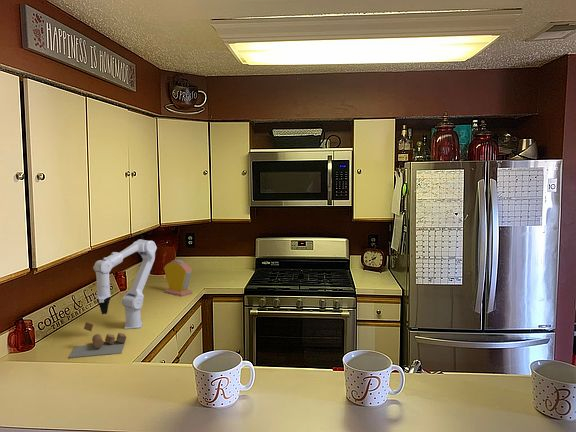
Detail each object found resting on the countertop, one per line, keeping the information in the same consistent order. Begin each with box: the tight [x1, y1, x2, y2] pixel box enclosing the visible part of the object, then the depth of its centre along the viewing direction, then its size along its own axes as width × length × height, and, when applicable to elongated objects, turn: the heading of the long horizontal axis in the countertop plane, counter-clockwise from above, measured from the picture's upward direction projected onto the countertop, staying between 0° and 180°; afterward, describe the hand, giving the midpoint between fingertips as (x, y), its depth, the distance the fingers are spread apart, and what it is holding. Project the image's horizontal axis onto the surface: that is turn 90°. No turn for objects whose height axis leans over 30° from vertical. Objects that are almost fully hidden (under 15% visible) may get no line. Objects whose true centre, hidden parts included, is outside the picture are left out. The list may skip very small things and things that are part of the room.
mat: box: [68, 342, 126, 359], centre depth 204 cm, size 13×21×1 cm, turn 103°
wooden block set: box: [83, 321, 127, 348], centre depth 209 cm, size 18×9×10 cm
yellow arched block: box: [163, 259, 193, 297], centre depth 300 cm, size 22×9×22 cm, turn 53°
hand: (104, 313), depth 223 cm, fingers closed
